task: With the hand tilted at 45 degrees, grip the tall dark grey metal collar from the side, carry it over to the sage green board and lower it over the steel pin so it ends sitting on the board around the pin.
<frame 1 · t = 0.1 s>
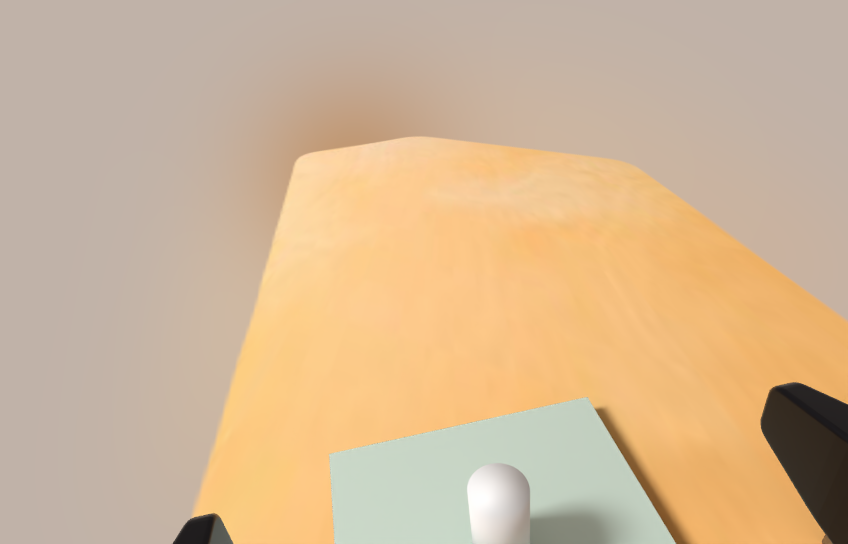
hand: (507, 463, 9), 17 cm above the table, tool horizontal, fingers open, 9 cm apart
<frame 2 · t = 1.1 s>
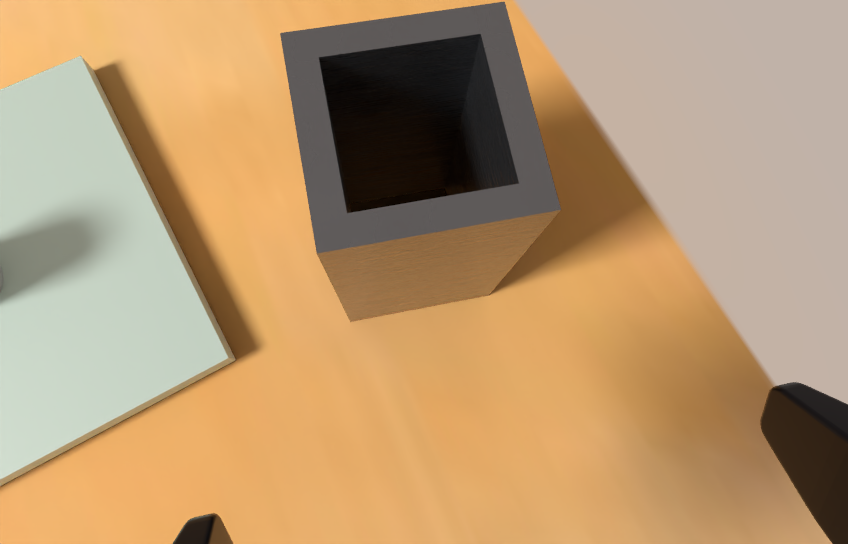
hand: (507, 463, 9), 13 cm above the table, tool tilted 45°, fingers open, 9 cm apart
collar: (406, 241, 23), on the table
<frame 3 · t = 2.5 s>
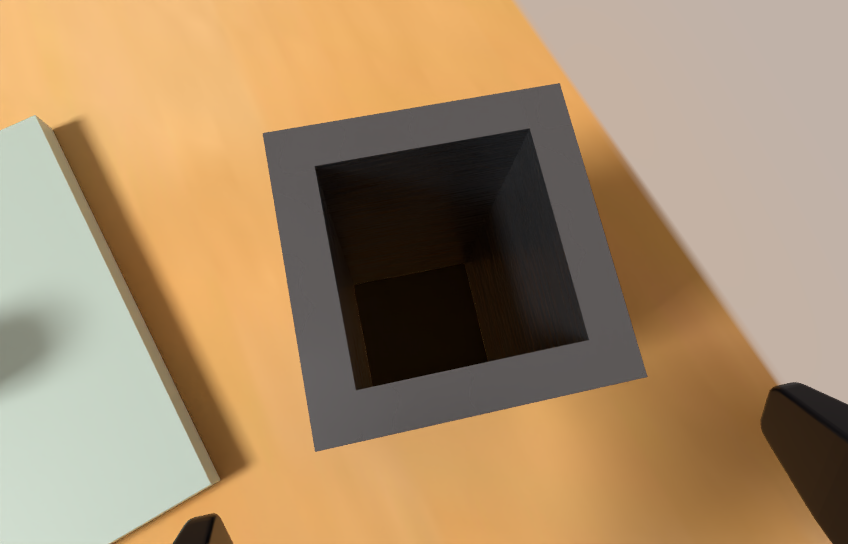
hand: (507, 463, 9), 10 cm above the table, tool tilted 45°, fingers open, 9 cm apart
collar: (421, 329, 20), on the table
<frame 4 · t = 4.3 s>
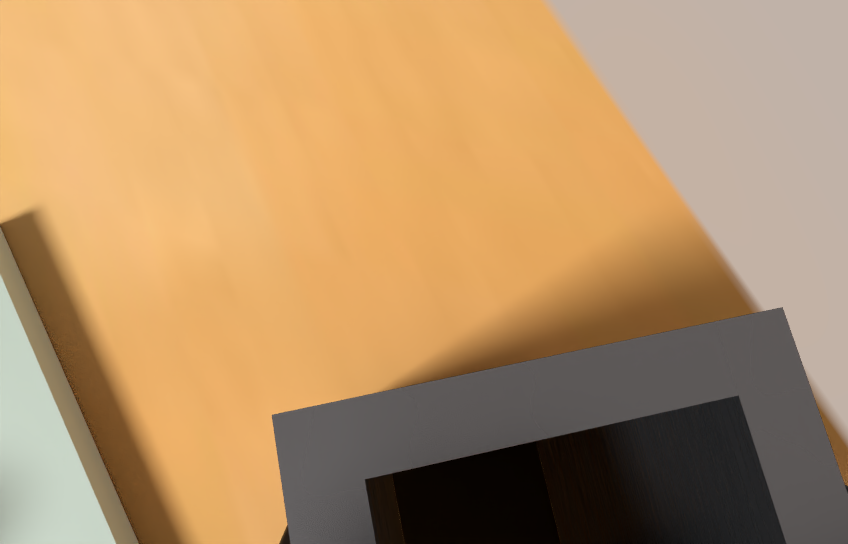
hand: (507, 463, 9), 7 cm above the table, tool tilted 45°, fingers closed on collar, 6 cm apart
collar: (472, 492, 15), on the table, touching gripper
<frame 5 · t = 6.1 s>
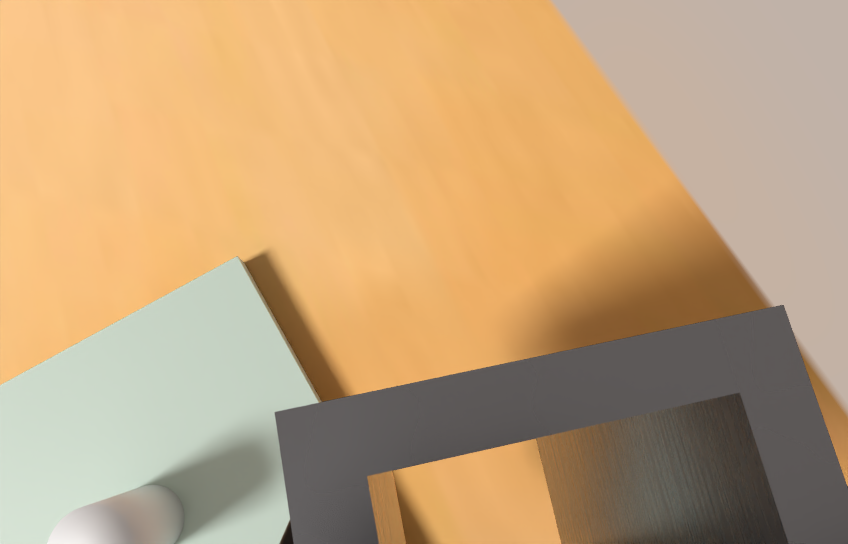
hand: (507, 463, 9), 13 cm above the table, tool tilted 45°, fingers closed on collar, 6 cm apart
pin board: (160, 515, 21), on the table
collar: (473, 491, 15), point 7 cm above the table, touching gripper
when the fingers open (9 cm above the table, at t = 8.3 s): collar drops 1 cm, resting on pin board.
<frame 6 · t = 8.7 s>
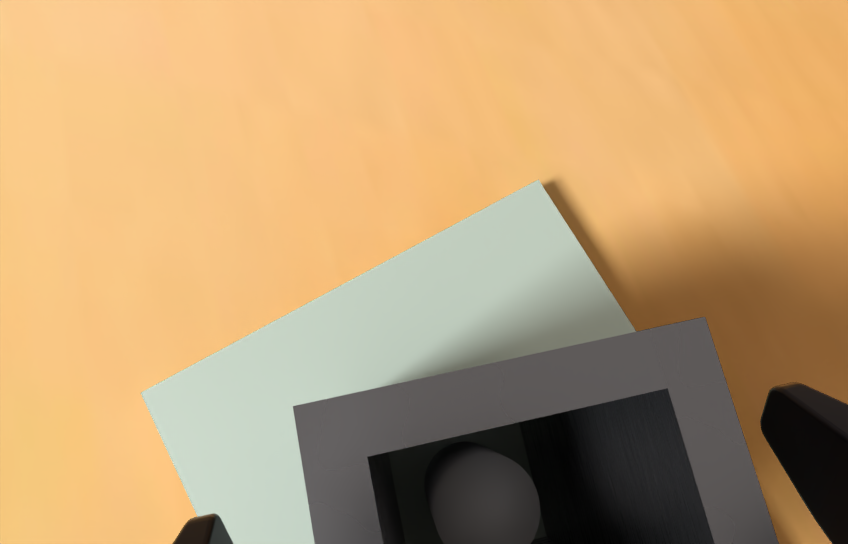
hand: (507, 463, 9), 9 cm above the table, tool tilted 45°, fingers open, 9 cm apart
pin board: (461, 479, 17), on the table
collar: (463, 480, 17), point 1 cm above the table, touching pin board
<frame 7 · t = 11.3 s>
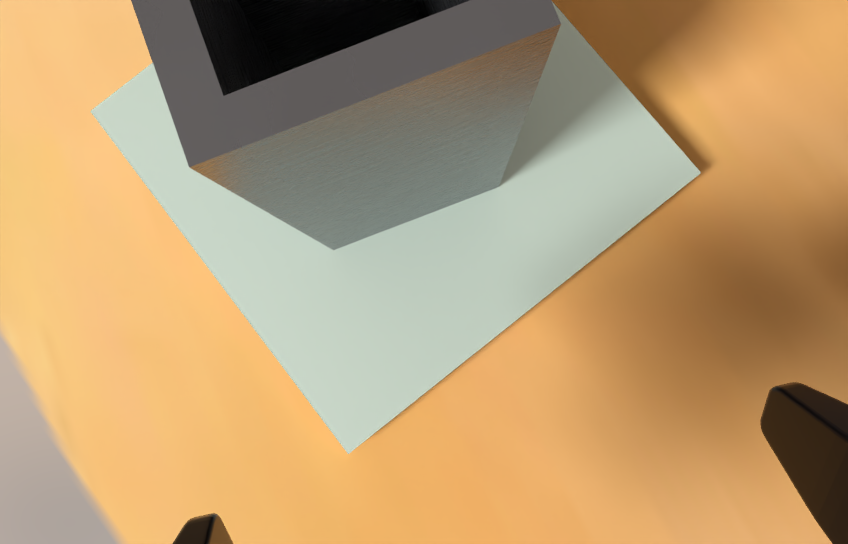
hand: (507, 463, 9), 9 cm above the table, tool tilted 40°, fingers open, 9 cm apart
pin board: (390, 150, 19), on the table
collar: (385, 138, 18), point 1 cm above the table, touching pin board
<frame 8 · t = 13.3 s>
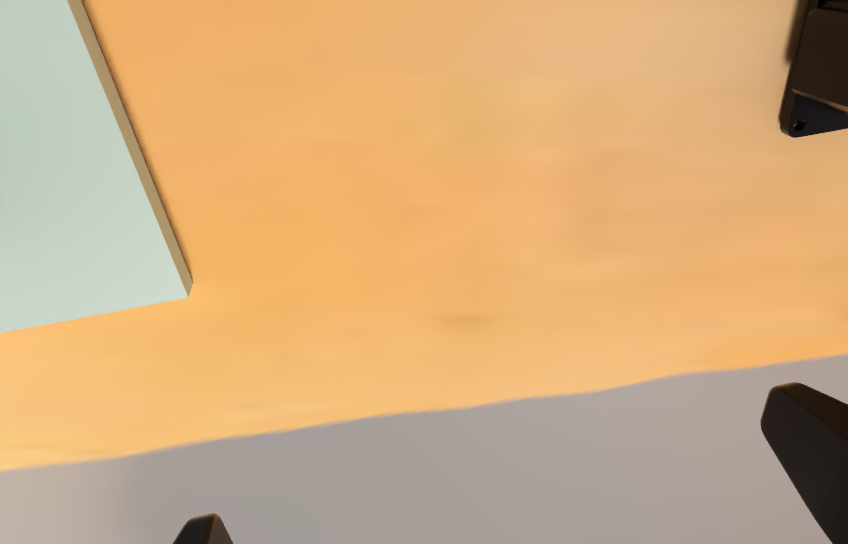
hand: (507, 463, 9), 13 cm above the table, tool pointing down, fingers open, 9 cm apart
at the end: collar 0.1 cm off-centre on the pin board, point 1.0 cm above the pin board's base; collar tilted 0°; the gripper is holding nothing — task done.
